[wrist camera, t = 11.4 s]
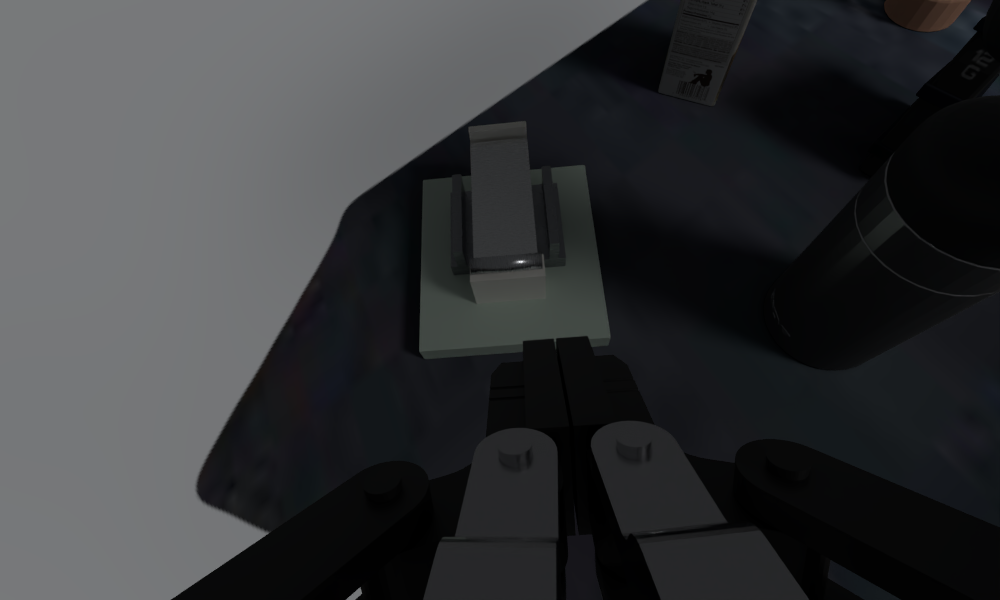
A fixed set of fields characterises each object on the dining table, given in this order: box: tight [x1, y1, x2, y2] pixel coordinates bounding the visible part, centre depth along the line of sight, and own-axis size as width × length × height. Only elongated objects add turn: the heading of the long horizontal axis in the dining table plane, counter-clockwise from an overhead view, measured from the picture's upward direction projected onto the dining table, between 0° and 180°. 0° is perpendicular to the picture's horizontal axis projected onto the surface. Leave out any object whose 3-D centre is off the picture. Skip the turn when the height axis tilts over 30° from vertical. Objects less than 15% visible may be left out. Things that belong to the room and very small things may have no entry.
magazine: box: [860, 16, 1000, 177], centre depth 44 cm, size 4×13×15 cm, turn 133°
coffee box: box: [658, 0, 757, 106], centre depth 48 cm, size 9×6×16 cm
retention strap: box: [470, 138, 543, 275], centre depth 42 cm, size 6×1×13 cm
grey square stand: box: [419, 121, 611, 359], centre depth 43 cm, size 16×18×8 cm
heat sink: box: [450, 166, 566, 275], centre depth 44 cm, size 10×8×4 cm
